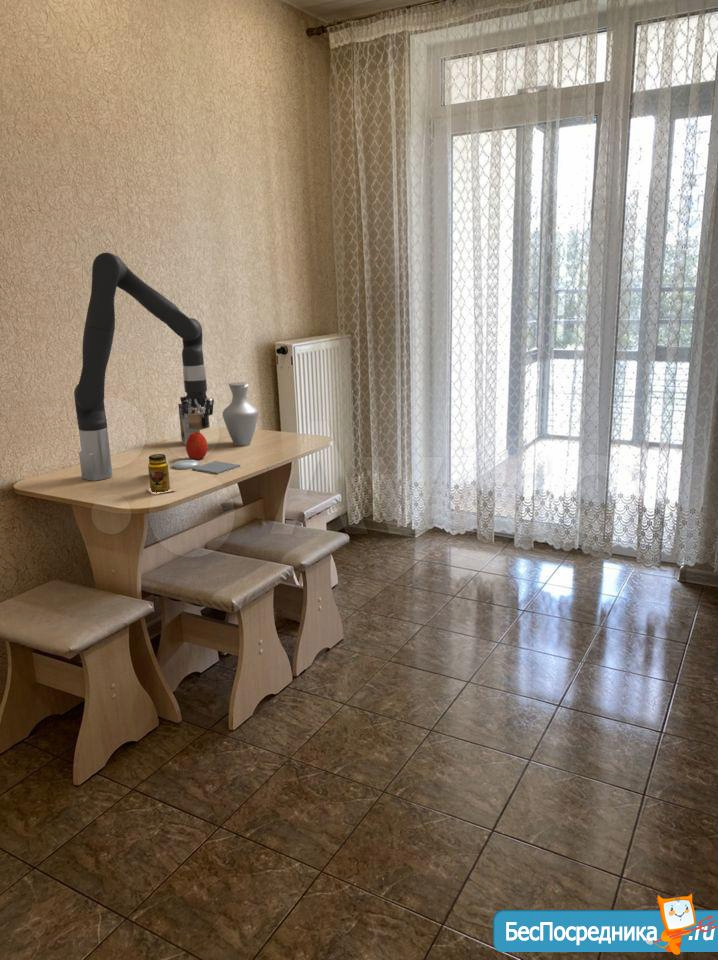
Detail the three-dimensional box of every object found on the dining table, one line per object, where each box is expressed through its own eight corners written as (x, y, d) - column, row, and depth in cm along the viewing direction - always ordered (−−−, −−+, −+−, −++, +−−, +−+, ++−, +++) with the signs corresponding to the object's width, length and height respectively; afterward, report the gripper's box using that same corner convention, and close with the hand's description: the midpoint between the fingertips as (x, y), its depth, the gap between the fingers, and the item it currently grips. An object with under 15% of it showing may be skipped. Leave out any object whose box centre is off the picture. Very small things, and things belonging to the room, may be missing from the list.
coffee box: (180, 441, 299) (177, 403, 295) (196, 440, 302) (193, 402, 297) (185, 446, 291) (182, 407, 287) (201, 444, 294) (198, 405, 289)
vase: (263, 440, 299) (261, 381, 293) (254, 448, 286) (251, 386, 279) (230, 439, 301) (227, 380, 294) (219, 447, 288) (215, 386, 281)
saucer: (186, 470, 255) (186, 467, 255) (168, 467, 259) (168, 463, 259) (204, 464, 262) (203, 461, 262) (186, 461, 267) (185, 458, 266)
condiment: (153, 496, 226) (150, 459, 223) (144, 489, 233) (141, 454, 229) (175, 491, 230) (172, 455, 226) (166, 485, 237) (163, 450, 233)
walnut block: (199, 430, 246) (198, 415, 244) (189, 428, 248) (187, 414, 247) (209, 427, 250) (208, 413, 248) (199, 426, 252) (198, 412, 251)
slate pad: (217, 474, 249) (217, 472, 249) (192, 469, 255) (192, 468, 255) (240, 466, 259) (240, 465, 259) (215, 462, 265) (215, 460, 265)
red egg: (203, 461, 266) (201, 433, 263) (182, 460, 268) (180, 433, 265) (212, 456, 274) (210, 429, 271) (192, 455, 276) (189, 428, 273)
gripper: (171, 378, 245) (176, 427, 250) (202, 381, 237) (207, 430, 242) (187, 375, 251) (192, 423, 256) (217, 377, 243) (222, 426, 248)
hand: (199, 426), depth 249 cm, fingers closed on walnut block, 5 cm apart
